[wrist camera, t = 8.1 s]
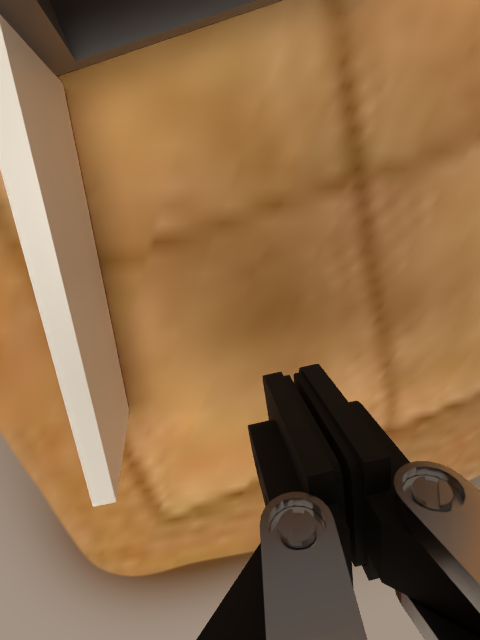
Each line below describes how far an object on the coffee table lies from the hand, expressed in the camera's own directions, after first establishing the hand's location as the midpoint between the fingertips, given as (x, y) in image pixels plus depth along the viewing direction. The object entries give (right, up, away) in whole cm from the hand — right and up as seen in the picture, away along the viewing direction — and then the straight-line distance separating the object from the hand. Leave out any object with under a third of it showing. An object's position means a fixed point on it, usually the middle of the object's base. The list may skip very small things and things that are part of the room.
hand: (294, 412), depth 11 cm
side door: (-10, +5, +9) cm, 14 cm away
